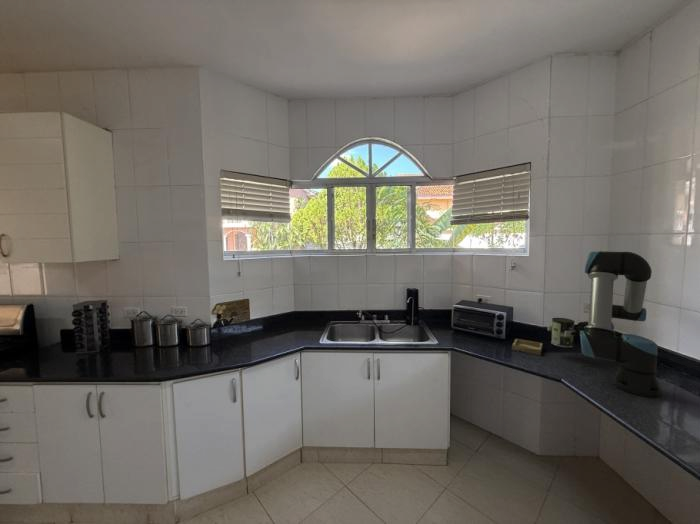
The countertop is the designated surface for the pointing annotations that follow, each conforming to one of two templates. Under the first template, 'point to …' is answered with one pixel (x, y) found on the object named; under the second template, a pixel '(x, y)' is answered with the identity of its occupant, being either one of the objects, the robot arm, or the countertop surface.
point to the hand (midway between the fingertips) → (556, 330)
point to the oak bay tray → (527, 346)
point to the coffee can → (562, 332)
